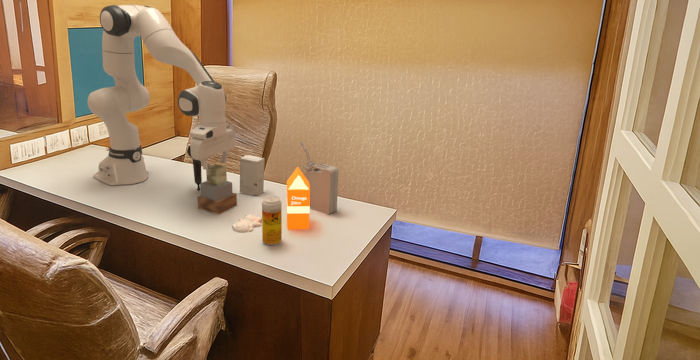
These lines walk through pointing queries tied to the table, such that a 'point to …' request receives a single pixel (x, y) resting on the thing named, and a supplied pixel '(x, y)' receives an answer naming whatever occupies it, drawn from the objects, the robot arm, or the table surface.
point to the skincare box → (251, 175)
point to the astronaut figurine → (247, 224)
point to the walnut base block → (217, 204)
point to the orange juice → (298, 201)
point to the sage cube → (216, 175)
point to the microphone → (196, 170)
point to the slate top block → (216, 190)
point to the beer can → (271, 220)
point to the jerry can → (321, 185)
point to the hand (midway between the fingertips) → (215, 165)
